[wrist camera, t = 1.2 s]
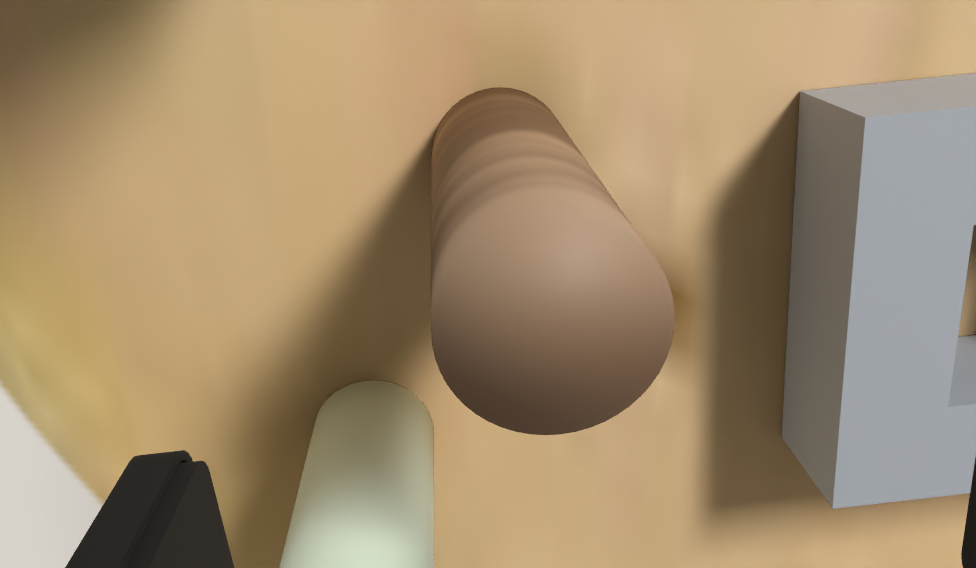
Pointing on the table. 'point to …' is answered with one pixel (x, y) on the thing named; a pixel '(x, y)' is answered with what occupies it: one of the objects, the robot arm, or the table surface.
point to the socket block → (883, 291)
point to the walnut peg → (537, 274)
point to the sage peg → (366, 483)
